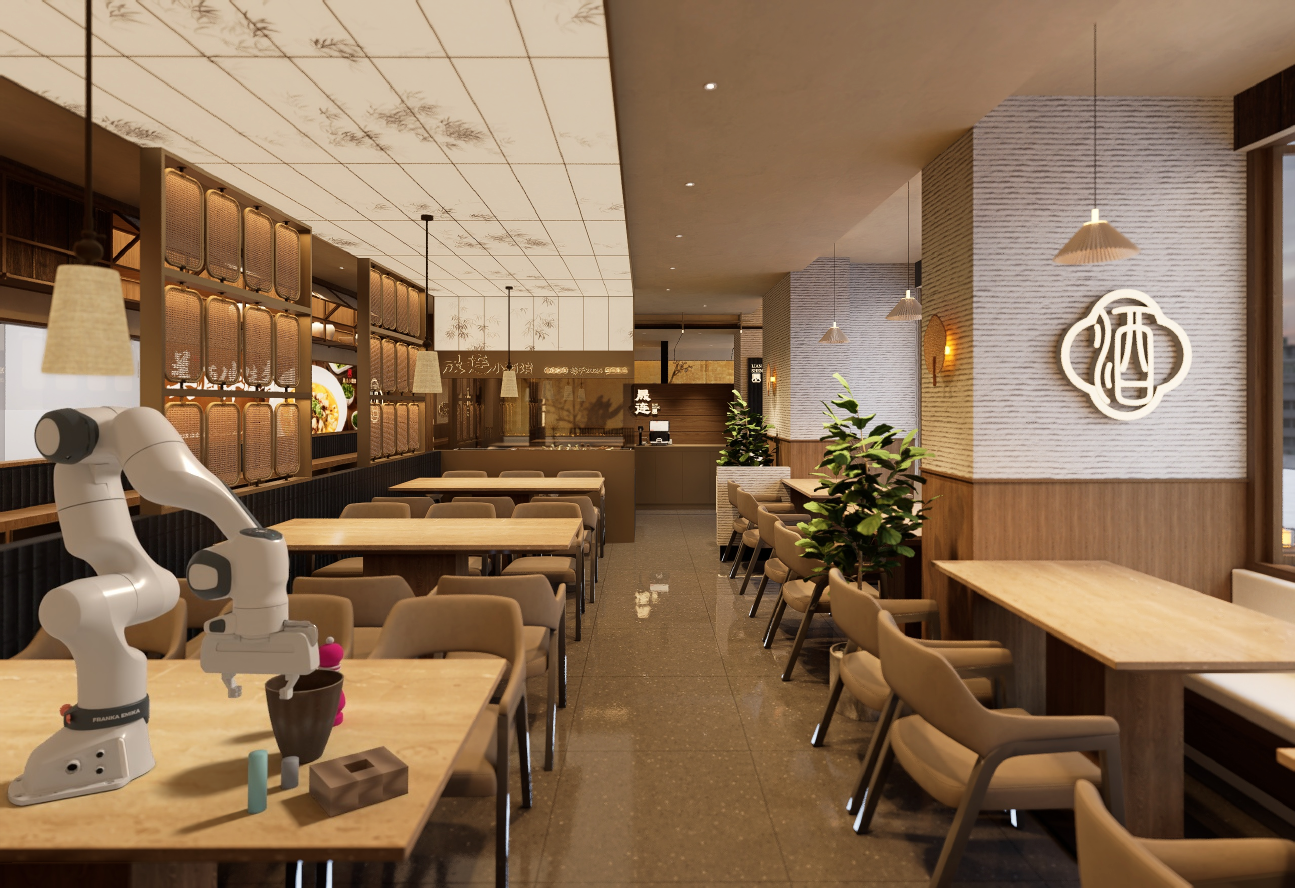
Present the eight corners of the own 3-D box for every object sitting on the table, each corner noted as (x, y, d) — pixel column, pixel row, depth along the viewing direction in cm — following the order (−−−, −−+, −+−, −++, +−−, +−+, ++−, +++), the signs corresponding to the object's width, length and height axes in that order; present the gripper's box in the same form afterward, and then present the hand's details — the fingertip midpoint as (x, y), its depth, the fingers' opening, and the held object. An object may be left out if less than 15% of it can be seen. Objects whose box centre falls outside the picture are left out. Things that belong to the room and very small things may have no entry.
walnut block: (330, 817, 128) (330, 788, 128) (309, 792, 137) (309, 765, 137) (408, 793, 137) (408, 766, 137) (383, 771, 146) (383, 745, 146)
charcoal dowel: (283, 791, 137) (283, 764, 137) (278, 785, 140) (279, 759, 140) (300, 786, 139) (300, 760, 139) (295, 780, 142) (296, 754, 142)
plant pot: (354, 742, 160) (355, 669, 160) (324, 773, 145) (325, 692, 145) (285, 741, 160) (286, 668, 160) (248, 772, 145) (249, 691, 145)
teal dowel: (249, 815, 128) (250, 758, 128) (245, 808, 130) (246, 752, 130) (268, 810, 130) (269, 753, 130) (264, 803, 132) (265, 748, 132)
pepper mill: (332, 730, 167) (334, 641, 167) (304, 727, 168) (305, 639, 168) (351, 718, 174) (353, 634, 174) (324, 715, 175) (325, 632, 175)
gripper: (326, 616, 133) (326, 693, 133) (217, 615, 134) (217, 690, 134) (308, 625, 127) (307, 705, 127) (194, 623, 128) (194, 702, 128)
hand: (260, 697), depth 131 cm, fingers open, 8 cm apart
